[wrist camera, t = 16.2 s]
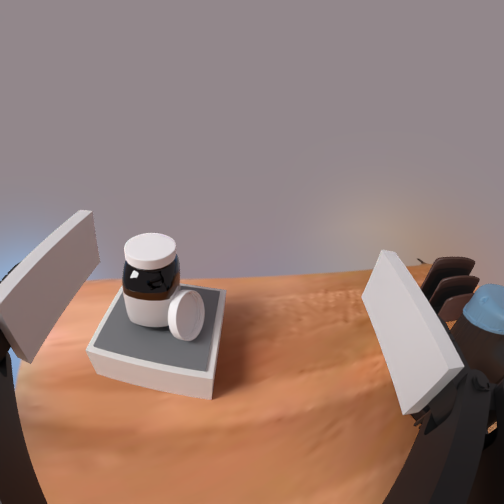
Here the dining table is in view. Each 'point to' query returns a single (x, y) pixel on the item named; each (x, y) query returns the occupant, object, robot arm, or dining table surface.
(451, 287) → the letter holder
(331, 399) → the dining table surface
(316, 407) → the dining table surface
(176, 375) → the riser
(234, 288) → the dining table surface
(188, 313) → the spread jar
